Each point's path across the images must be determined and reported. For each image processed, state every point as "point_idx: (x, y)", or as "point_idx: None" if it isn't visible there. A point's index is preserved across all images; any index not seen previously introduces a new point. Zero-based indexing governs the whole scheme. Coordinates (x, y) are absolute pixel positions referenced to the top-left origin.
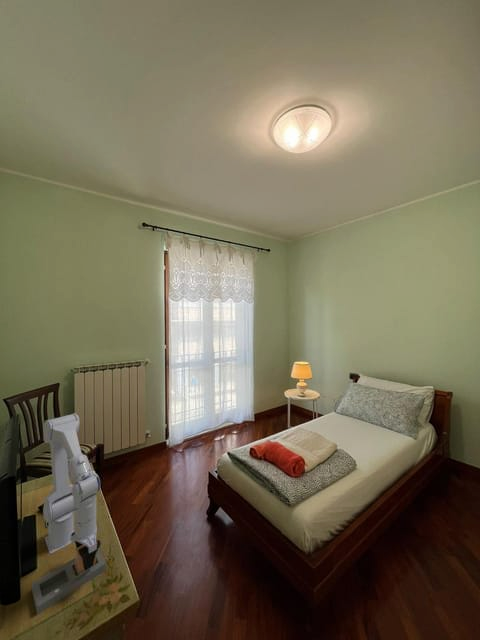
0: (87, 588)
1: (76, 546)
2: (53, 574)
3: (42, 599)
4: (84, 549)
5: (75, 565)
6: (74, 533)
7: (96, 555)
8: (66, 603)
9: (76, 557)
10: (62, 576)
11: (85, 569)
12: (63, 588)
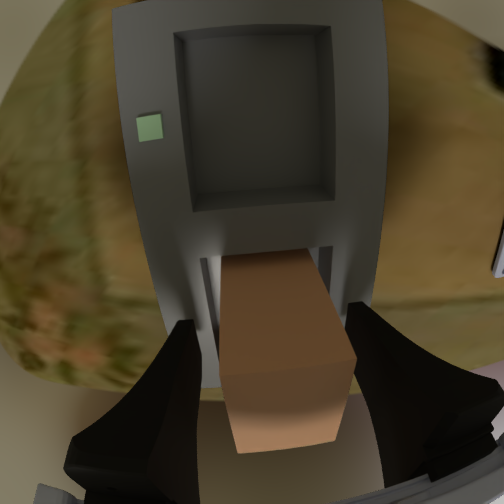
0: (137, 276)
1: (394, 350)
2: (351, 124)
3: (149, 34)
4: (117, 489)
5: (300, 270)
6: (484, 415)
7: None
8: (107, 171)
9: (287, 327)
10: (323, 173)
11: (173, 328)
12: (144, 172)
